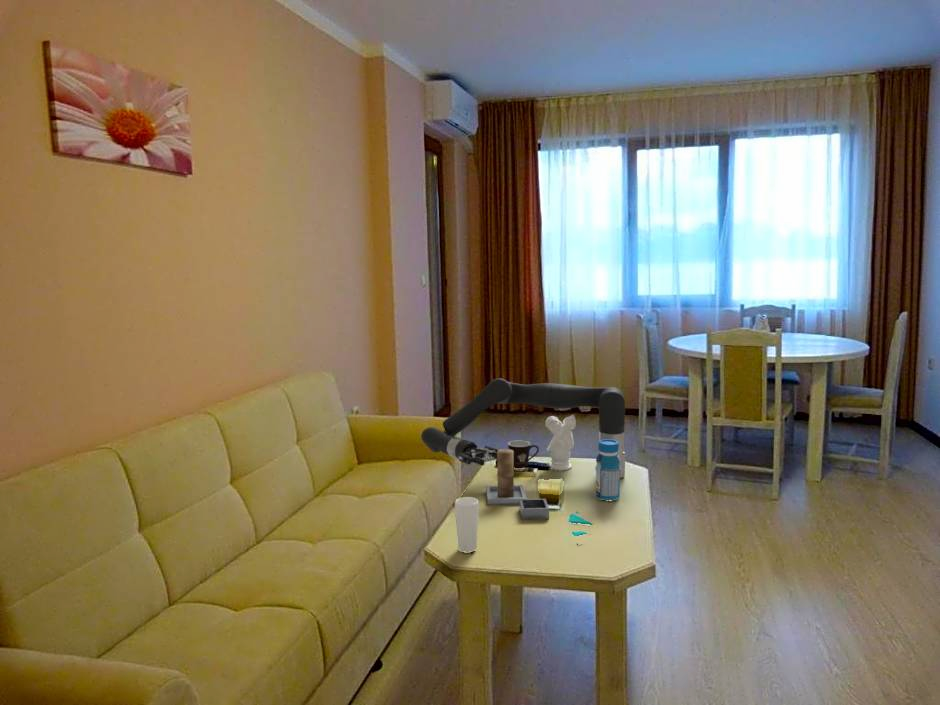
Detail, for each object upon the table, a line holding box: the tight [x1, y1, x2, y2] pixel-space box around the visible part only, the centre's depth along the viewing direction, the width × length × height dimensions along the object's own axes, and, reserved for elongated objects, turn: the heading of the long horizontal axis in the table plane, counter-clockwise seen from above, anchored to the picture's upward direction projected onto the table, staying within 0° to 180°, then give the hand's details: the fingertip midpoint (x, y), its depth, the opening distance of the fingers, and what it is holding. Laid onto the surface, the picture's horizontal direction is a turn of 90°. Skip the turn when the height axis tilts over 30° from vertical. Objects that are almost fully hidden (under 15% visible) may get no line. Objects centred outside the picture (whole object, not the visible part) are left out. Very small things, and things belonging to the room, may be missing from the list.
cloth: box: [567, 510, 594, 536], centre depth 215 cm, size 26×14×2 cm, turn 160°
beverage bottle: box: [595, 439, 621, 502], centre depth 239 cm, size 8×8×20 cm
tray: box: [485, 484, 528, 506], centre depth 240 cm, size 13×13×2 cm
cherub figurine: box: [544, 414, 577, 472], centre depth 272 cm, size 12×12×22 cm
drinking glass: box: [454, 496, 480, 552], centre depth 201 cm, size 7×7×15 cm
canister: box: [496, 448, 515, 498], centre depth 239 cm, size 6×6×16 cm
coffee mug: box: [507, 439, 540, 468], centre depth 271 cm, size 12×9×10 cm
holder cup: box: [518, 498, 550, 521], centre depth 226 cm, size 9×9×4 cm
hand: (492, 459), depth 243 cm, fingers open, 8 cm apart
